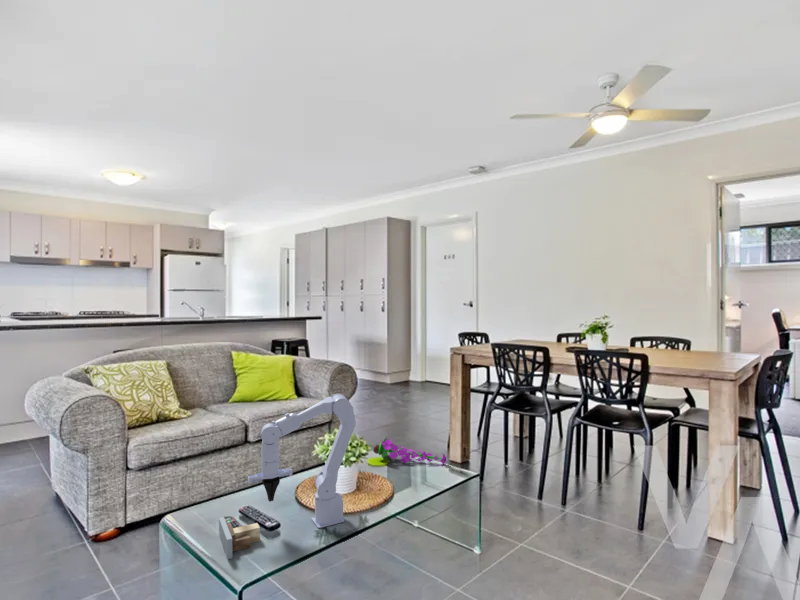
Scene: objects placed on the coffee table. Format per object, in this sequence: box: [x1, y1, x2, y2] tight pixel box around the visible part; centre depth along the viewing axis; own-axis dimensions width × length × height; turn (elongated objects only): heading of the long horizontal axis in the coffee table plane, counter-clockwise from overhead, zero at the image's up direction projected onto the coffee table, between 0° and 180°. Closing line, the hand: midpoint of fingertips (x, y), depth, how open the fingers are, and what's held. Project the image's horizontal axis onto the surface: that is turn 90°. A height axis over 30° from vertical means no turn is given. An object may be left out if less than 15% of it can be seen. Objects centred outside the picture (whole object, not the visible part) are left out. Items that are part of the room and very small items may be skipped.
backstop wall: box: [218, 516, 233, 560], centre depth 148 cm, size 2×16×6 cm, turn 29°
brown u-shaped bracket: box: [226, 522, 251, 553], centre depth 150 cm, size 6×9×5 cm, turn 29°
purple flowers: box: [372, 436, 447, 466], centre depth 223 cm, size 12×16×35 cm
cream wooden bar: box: [232, 522, 261, 544], centre depth 152 cm, size 8×4×4 cm, turn 119°
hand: (270, 500), depth 159 cm, fingers closed
